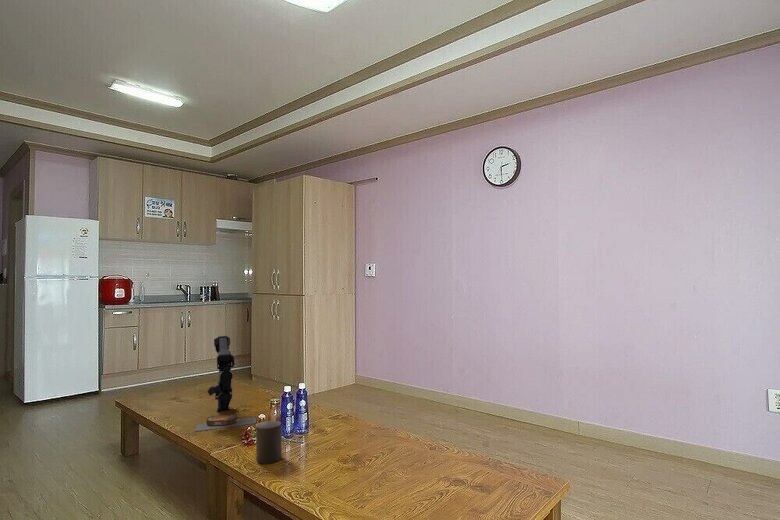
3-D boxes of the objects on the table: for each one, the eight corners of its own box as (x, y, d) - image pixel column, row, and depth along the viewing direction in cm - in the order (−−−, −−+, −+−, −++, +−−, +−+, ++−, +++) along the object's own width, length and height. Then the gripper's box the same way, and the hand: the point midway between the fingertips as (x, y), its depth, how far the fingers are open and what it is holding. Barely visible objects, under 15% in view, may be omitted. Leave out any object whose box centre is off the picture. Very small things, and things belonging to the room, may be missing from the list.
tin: (239, 414, 229) (232, 418, 220) (239, 421, 228) (232, 425, 220) (211, 415, 230) (203, 419, 222) (211, 421, 230) (202, 425, 221)
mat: (196, 425, 223) (196, 424, 223) (255, 417, 233) (255, 417, 233) (194, 431, 214) (194, 431, 214) (256, 423, 223) (256, 422, 223)
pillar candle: (272, 465, 172) (271, 425, 172) (251, 462, 175) (250, 423, 176) (286, 456, 181) (286, 418, 182) (266, 453, 184) (265, 416, 185)
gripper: (209, 376, 232) (209, 407, 232) (206, 384, 215) (207, 417, 214) (231, 374, 236) (232, 404, 235) (231, 381, 218) (232, 414, 218)
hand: (226, 409), depth 226 cm, fingers closed
